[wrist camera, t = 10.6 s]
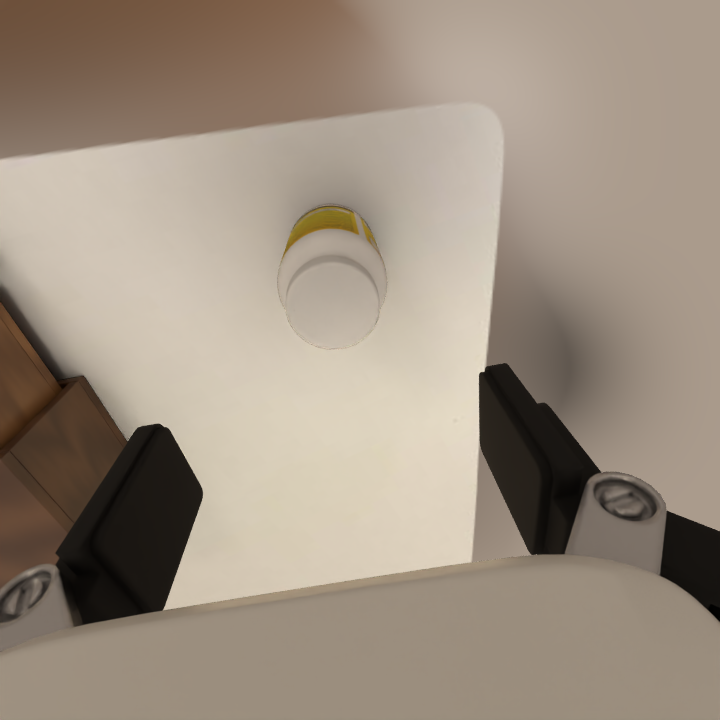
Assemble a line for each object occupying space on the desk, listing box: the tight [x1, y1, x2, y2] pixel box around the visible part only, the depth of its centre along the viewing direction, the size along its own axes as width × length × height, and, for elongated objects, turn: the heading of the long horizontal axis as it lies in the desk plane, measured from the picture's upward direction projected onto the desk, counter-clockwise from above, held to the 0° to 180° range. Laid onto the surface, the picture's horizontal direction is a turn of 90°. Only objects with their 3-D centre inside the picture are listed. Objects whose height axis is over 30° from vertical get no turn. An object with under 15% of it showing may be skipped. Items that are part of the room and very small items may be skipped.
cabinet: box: [0, 376, 127, 589], centre depth 32 cm, size 15×13×10 cm
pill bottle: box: [277, 204, 387, 349], centre depth 24 cm, size 6×6×11 cm
